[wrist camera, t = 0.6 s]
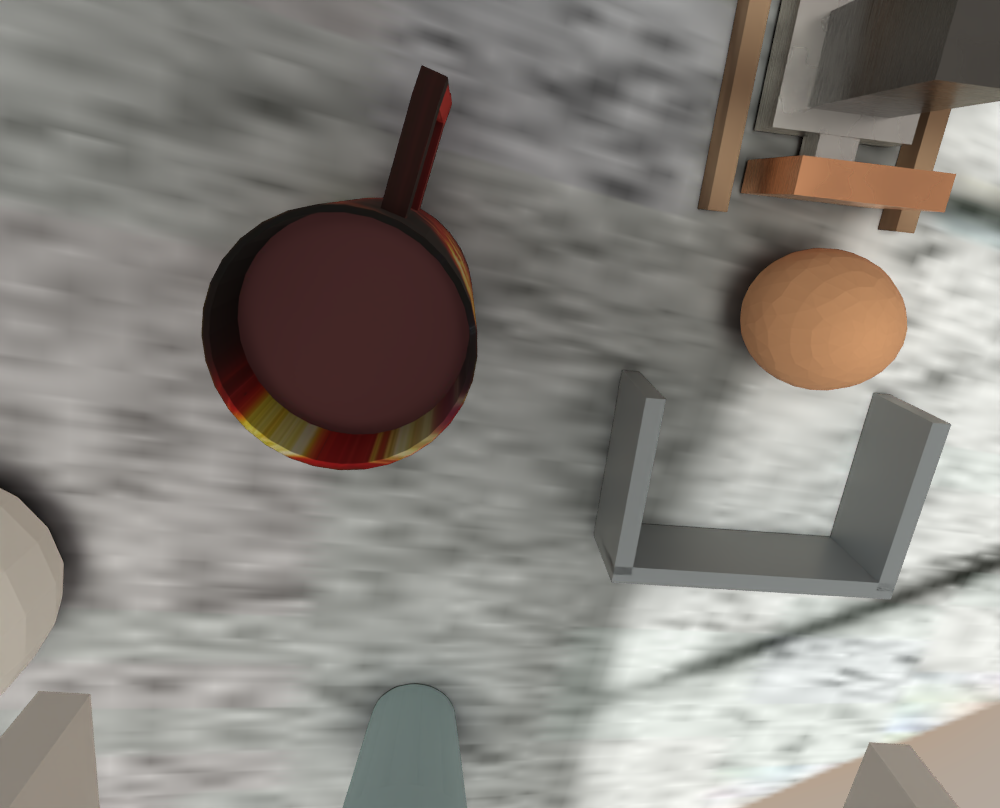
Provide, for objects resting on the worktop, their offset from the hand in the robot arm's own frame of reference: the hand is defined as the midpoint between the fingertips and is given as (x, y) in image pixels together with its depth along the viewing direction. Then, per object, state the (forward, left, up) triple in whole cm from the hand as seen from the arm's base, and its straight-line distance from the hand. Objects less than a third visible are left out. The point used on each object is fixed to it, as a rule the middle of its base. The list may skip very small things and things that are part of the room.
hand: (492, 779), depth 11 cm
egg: (-5, +17, -26) cm, 32 cm away
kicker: (-15, +16, -26) cm, 34 cm away
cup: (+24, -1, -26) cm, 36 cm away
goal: (+4, +17, -26) cm, 31 cm away
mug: (-6, -5, -27) cm, 28 cm away
